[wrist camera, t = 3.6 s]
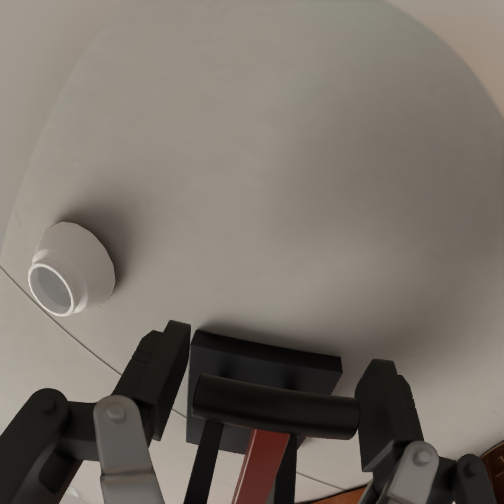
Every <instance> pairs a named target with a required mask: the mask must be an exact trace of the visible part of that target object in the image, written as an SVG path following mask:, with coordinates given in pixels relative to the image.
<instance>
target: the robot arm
mask: <svg viewBox="0 0 504 504" xmlns="http://www.w3.org/2000/svg"><path fill="white" fill-rule="evenodd" d="M190 335H191V325H190V324H186V323H182V322H178V321H174V320H170V321H169V322H168V324H167V326H166V328H165V330H164V332H163V333H162V332H158V331H155V330H152V331H151V332H150V333H148V334H147V335H146V336H144V337H143V338H142V339H141V341H140V343H139V345H138V347H137V349H136V351H135V352H134V354H133V356H132V359H131V360H130V361H129V363H128V365H127V367H126V369H125V371H124V372H123V374H122V376H121V378H120V380H119V382H118V384H117V386H116V387H115V389H114V391H113V393H112V394H111V395H110V396H106V397H104V398H102V399H101V400H99V401H98V402H96V403H83V402H73V401H67V399H66V397H65V396H64V395H63V394H62V393H61V392H60V391H58V390H56V389H52V388H44V389H41V390H38V391H36V392H35V393H33V394H32V396H31V397H30V398H29V399H28V401H27V402H26V403H25V404H24V406H23V407H22V408H21V409H20V411H19V412H18V413H17V415H16V416H15V417H14V419H13V420H12V421H11V423H10V424H9V425H8V427H7V428H6V429H5V431H4V432H3V433H2V435H1V436H0V504H59V502H60V501H61V499H62V497H63V495H64V494H65V492H66V490H67V488H68V486H69V485H70V483H71V481H72V479H73V478H74V476H75V474H76V472H77V471H78V469H79V467H80V466H81V464H82V462H83V460H89V461H100V466H101V476H100V483H101V489H102V494H103V499H104V503H105V504H165V502H164V499H163V496H162V493H161V490H160V487H159V483H158V480H157V477H156V474H155V471H154V468H153V465H152V461H151V458H150V454H149V450H148V448H149V446H150V443H151V440H152V439H153V440H157V441H160V440H161V438H162V435H163V432H164V429H165V426H166V423H167V421H168V418H169V415H170V412H171V409H172V407H173V404H174V401H175V398H176V395H177V393H178V390H179V387H180V384H181V382H182V379H183V376H184V373H185V371H186V368H187V364H188V359H189V350H190ZM354 398H356V399H357V400H358V401H359V404H360V411H361V412H360V422H359V426H358V434H359V444H360V454H361V466H362V472H373V478H372V479H371V480H370V482H369V483H368V485H367V487H366V489H365V491H364V493H363V494H362V496H361V498H360V500H359V502H358V503H357V504H452V503H453V502H454V501H455V503H456V504H497V502H496V498H495V495H494V492H493V489H492V486H491V483H490V480H489V477H488V474H487V471H486V468H485V465H484V463H483V462H482V460H481V459H480V458H479V457H477V456H476V455H473V454H466V455H464V456H462V457H461V458H460V459H459V460H458V461H455V460H451V459H447V458H443V457H440V456H438V453H437V451H436V450H435V448H434V447H433V446H432V445H431V444H429V443H427V442H424V438H423V434H422V430H421V426H420V422H419V418H418V414H417V410H416V408H415V403H414V399H412V398H413V396H412V392H411V389H410V386H409V384H408V383H407V381H406V380H405V379H404V377H403V376H402V375H397V371H396V368H395V364H394V362H393V361H390V360H382V359H373V360H372V361H371V362H370V364H369V366H368V367H367V369H366V371H365V373H364V374H363V376H362V378H361V379H360V381H359V383H358V385H357V387H356V390H355V396H354Z"/></svg>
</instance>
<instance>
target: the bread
mask: <svg viewBox="0 0 504 504" xmlns="http://www.w3.org/2000/svg"><path fill="white" fill-rule="evenodd" d="M365 489H366V487H365V488H362V489H358V490H355V491H351V492H347V493H343V494H340V495H337V496H334V497H331V498H327V499H324V500H321V501H318V502H314V503H311V504H357V503H358V502H359V500H360V498H361V496H362V494H363V493H364V491H365Z"/></svg>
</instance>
